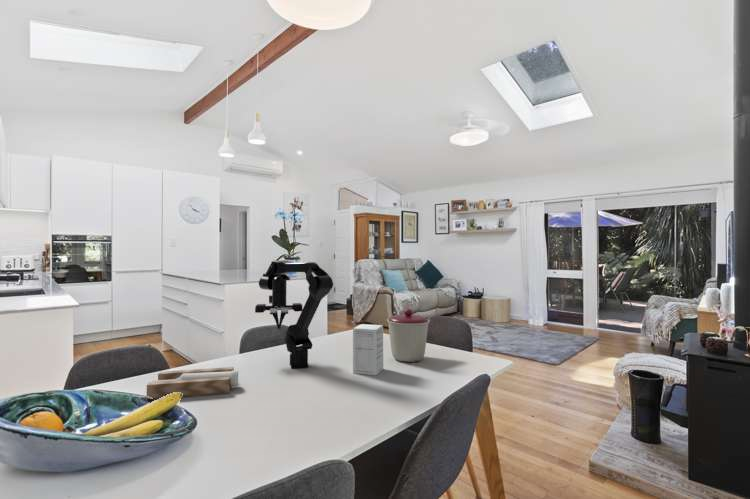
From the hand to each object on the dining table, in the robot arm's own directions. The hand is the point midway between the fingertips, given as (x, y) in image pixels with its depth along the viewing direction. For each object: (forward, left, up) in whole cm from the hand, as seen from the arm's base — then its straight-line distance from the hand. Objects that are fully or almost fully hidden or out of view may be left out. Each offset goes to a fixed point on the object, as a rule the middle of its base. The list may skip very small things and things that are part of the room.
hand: (279, 328), depth 154 cm
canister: (-53, +10, -13) cm, 56 cm away
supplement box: (-33, +22, -13) cm, 42 cm away
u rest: (+27, +28, -13) cm, 41 cm away
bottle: (+13, +29, -10) cm, 34 cm away
